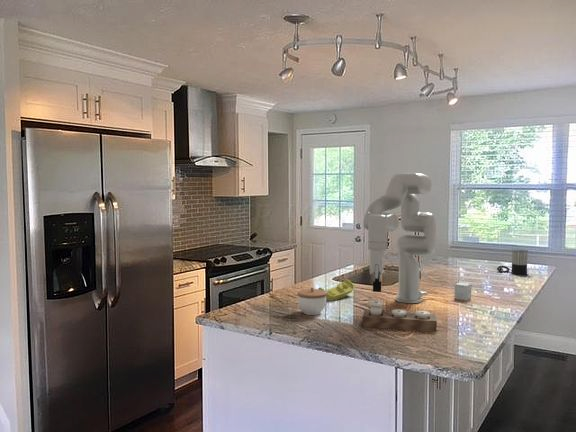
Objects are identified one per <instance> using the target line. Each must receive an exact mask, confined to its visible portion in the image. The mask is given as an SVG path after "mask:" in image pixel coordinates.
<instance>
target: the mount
mask: <svg viewBox="0 0 576 432" xmlns="http://www.w3.org/2000/svg"><path fill="white" fill-rule="evenodd" d="M361 317H362V318H361V319H362V321H361V323H362V325H361V326H362V327H365V328H381V329H395V330H408V331H409V330H410V331H411V330H412V331H421V332H423V331H424V332H426V331H427V332H437V325H438V323H437V322H438V320H437V316H436V313H430V317H429V319H421V318H417V316H415V312H407V311H406V315H405V317H393V315H392V310H391V311H387V310H382V316H373V315H370V309H364V310H363V313H362V316H361Z"/></svg>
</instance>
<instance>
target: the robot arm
mask: <svg viewBox="0 0 576 432" xmlns="http://www.w3.org/2000/svg"><path fill="white" fill-rule="evenodd" d="M431 189H432V180H431V178H430V177H429V176H428V175H427V174H424V173H420V172H419V173H418V172H400V173H395V174H394V175H392V177H391V179H390V180H389V183H388V185H387V188H386V190H385V191H384V192H385V193H384V194H383V195H381V196H379V197H378V198H376V199H375V200H374V201H372V202H371V203H370V204H369V205H368V206H367V208H366V211H365V214H364V216H363V222H362V223H363V227H364V229H365V230H366V231H367V230H368V231H367V237H368V238H367V250H370V254H369V275H370V276H372V275H373V280H372V292H375V293H381V292H382V275H383V272H384V267H385V265H384V264H385V251H388V233H393V232H395V231H396V230H397V229H398V228H399V226H400V228H401V230H403V232H409V233H421V234H422V233H423V234H422V235H421V234H420V235H419V234H402V235H401V236H399V237H398V238H397V241H396V247H397V253H398V294H397V296H395V297H394V301H396V302H399V303H403V304H419V303H420V304H421V303H422V302H423V298H422V297H423V296H425V297H426V296H428V292H427V291H421V290H420V263H419V260H418V259H417V257H416V256H421V257H431V256H432V257H433V255H434V254H435V251H436V241H437V240H436V231H437V230H436V229H437V226H436V225H437V223H436V222H437V221H436V218H435V215H434V214H433V213H431V212H427V211H426V212H424V211H423V212H422V211H420V200H419V198H418V196H417V195H427V194H429V193H430V191H431ZM399 207H400V219H399V217H398V215H397V214H395V213H391V212H387V211H391V210H394V209H397V208H399Z"/></svg>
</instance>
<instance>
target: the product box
mask: <svg viewBox="0 0 576 432" xmlns="http://www.w3.org/2000/svg"><path fill="white" fill-rule="evenodd" d="M454 299H455V300H459V301H460V300H461V301H465V302H467V301H469V300H471V299H472V283H466V282H460V281H459V282H457V283H455V284H454Z"/></svg>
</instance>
